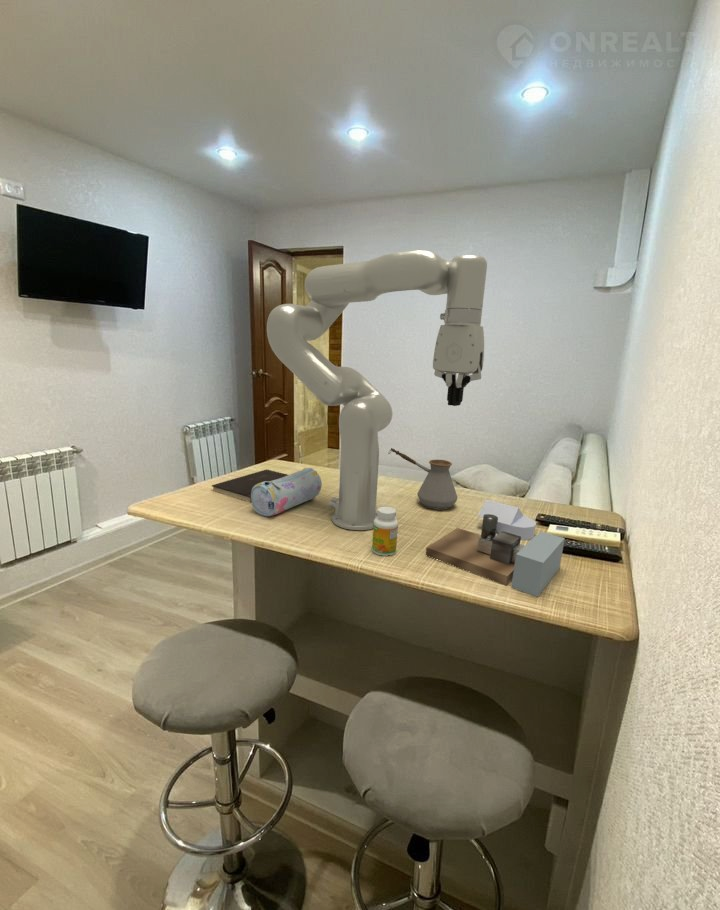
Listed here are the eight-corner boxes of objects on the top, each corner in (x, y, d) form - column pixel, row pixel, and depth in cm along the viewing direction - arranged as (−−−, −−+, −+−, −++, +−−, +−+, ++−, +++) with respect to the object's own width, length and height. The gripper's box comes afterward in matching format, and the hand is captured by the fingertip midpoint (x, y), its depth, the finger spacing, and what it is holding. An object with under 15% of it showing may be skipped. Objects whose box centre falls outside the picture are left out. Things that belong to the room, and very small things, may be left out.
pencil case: (271, 521, 112) (271, 485, 109) (247, 513, 116) (246, 478, 114) (323, 500, 129) (324, 469, 126) (300, 493, 133) (301, 463, 131)
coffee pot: (459, 502, 133) (465, 453, 129) (452, 515, 122) (457, 462, 119) (391, 490, 140) (395, 444, 137) (379, 501, 130) (382, 451, 126)
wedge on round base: (476, 528, 114) (527, 543, 107) (479, 503, 113) (531, 517, 105) (489, 518, 121) (538, 532, 113) (492, 495, 120) (542, 507, 112)
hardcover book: (211, 492, 132) (211, 485, 131) (266, 475, 151) (266, 469, 150) (250, 504, 124) (250, 496, 123) (303, 485, 143) (303, 478, 142)
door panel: (425, 555, 97) (428, 528, 96) (456, 535, 109) (459, 510, 107) (506, 585, 87) (510, 554, 85) (530, 559, 98) (535, 532, 97)
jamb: (511, 587, 86) (516, 554, 84) (535, 560, 98) (540, 531, 96) (537, 597, 83) (543, 562, 82) (559, 568, 95) (564, 538, 93)
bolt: (477, 550, 96) (481, 516, 94) (482, 545, 98) (486, 513, 97) (533, 569, 89) (539, 533, 87) (538, 563, 91) (543, 528, 89)
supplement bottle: (366, 550, 99) (369, 508, 96) (383, 543, 102) (385, 503, 100) (384, 559, 95) (387, 516, 93) (401, 551, 99) (404, 510, 96)
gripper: (423, 317, 96) (416, 402, 101) (489, 317, 87) (478, 410, 92) (440, 320, 102) (432, 400, 106) (503, 320, 93) (492, 408, 97)
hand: (454, 404), depth 99 cm, fingers closed
